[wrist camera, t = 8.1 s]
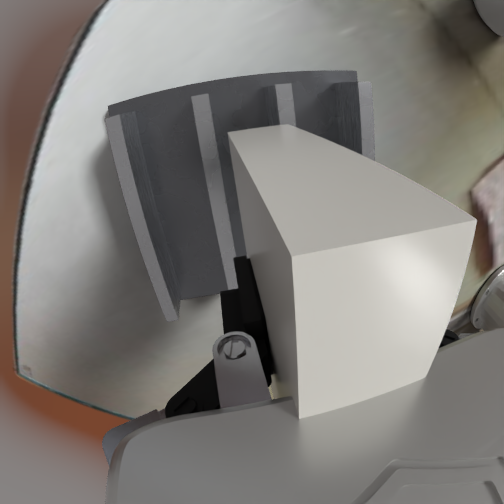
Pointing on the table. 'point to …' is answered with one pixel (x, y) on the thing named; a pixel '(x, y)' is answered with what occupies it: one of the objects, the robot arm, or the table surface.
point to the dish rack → (216, 165)
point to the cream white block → (345, 266)
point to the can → (492, 14)
